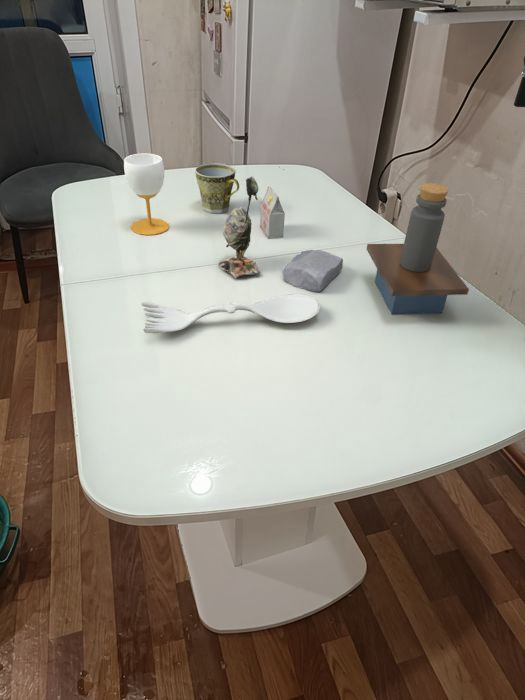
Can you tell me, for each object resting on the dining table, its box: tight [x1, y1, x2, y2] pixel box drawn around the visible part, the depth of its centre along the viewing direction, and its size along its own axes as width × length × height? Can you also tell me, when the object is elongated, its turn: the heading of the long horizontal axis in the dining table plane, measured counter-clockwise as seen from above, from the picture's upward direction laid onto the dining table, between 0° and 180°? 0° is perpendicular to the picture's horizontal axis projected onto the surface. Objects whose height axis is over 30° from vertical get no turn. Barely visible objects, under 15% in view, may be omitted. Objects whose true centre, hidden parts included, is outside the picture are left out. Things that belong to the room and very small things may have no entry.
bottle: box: [400, 182, 449, 272], centre depth 93 cm, size 6×6×15 cm
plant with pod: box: [218, 175, 261, 279], centre depth 103 cm, size 8×11×20 cm
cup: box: [123, 152, 170, 236], centre depth 118 cm, size 9×9×16 cm
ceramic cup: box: [194, 163, 240, 214], centre depth 129 cm, size 13×10×10 cm
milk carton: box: [259, 186, 286, 240], centre depth 120 cm, size 4×7×10 cm, turn 17°
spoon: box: [140, 293, 321, 334], centre depth 92 cm, size 9×32×3 cm, turn 103°
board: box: [366, 243, 470, 296], centre depth 98 cm, size 14×18×1 cm
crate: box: [374, 268, 448, 315], centre depth 100 cm, size 10×12×6 cm
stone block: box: [282, 249, 344, 293], centre depth 106 cm, size 12×5×10 cm
